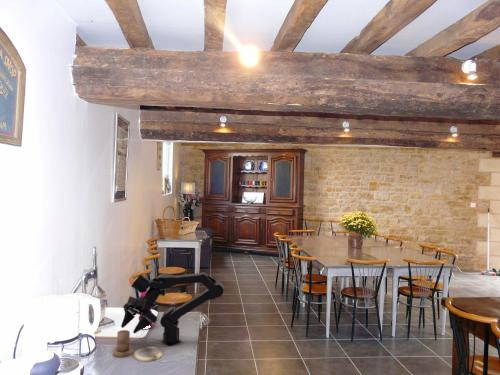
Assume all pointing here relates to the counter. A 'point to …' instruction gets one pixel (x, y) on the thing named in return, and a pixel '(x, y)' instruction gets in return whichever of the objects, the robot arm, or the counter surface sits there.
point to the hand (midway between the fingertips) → (127, 330)
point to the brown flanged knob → (123, 344)
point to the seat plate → (148, 354)
